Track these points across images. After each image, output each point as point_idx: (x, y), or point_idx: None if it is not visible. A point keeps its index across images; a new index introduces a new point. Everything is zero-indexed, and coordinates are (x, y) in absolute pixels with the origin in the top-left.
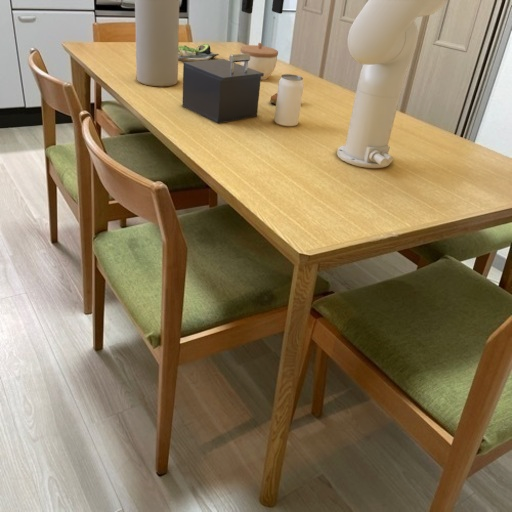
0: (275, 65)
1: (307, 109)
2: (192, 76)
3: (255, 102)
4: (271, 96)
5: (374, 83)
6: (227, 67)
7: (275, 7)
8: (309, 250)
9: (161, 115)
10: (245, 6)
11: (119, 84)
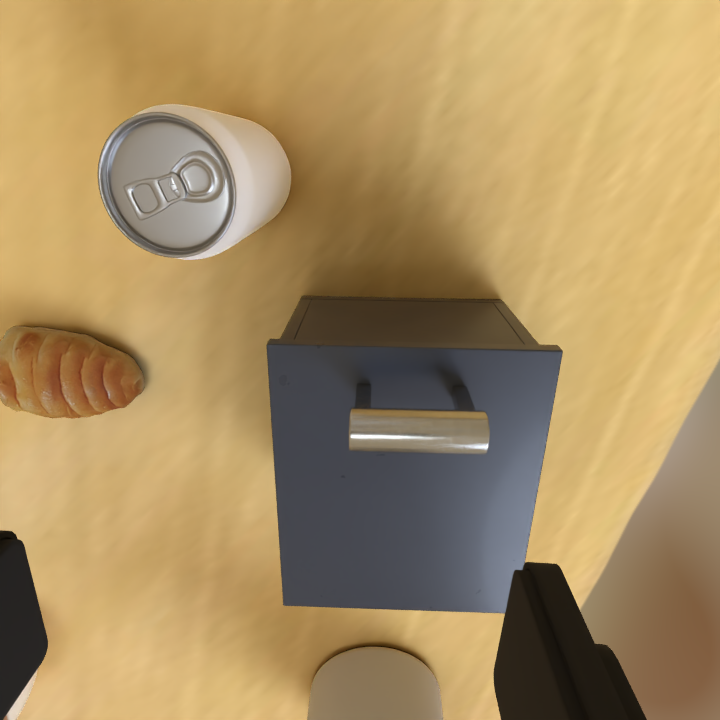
0: None
1: (25, 269)
2: None
3: (310, 312)
4: (126, 402)
5: None
6: (382, 491)
7: (3, 650)
8: None
9: (608, 448)
10: (615, 670)
11: None
